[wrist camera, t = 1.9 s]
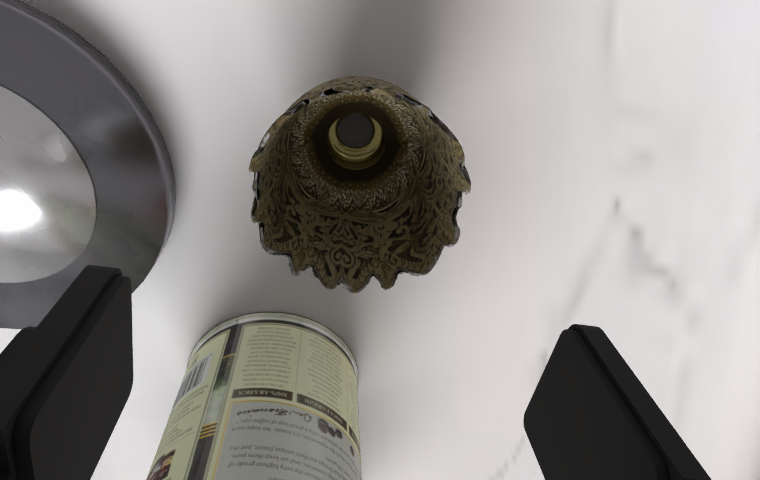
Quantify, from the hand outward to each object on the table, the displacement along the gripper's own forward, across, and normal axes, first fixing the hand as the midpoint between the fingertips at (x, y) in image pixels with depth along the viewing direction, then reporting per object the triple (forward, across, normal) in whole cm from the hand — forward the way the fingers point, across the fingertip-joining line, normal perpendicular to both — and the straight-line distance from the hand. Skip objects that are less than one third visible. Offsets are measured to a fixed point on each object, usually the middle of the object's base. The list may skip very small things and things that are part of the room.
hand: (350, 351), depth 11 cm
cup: (+15, -1, -1) cm, 15 cm away
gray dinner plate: (+15, +15, +4) cm, 22 cm away
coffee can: (+15, +1, +15) cm, 22 cm away
